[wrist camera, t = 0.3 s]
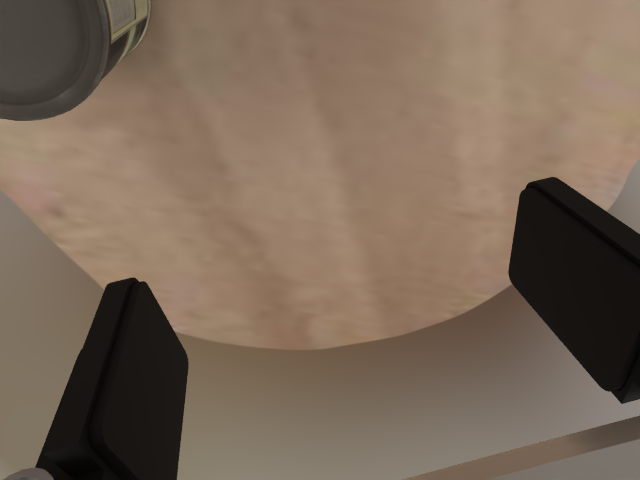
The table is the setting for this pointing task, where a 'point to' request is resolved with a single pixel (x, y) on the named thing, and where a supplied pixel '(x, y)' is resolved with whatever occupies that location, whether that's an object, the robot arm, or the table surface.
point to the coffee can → (62, 51)
